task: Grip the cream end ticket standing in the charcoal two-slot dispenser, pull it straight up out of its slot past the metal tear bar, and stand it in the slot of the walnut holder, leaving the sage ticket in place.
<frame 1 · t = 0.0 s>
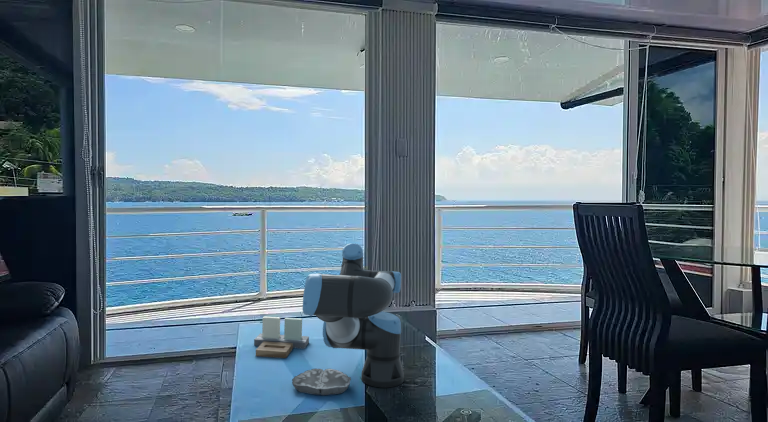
hand: (357, 312, 213), 15 cm above the table, tool tilted 35°, fingers open, 13 cm apart
brain slice: (321, 387, 177), on the table
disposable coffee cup: (344, 330, 238), on the table
holder: (274, 352, 207), on the table
dispenser: (281, 343, 217), on the table
end ticket: (270, 343, 217), resting in dispenser
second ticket: (292, 344, 217), resting in dispenser
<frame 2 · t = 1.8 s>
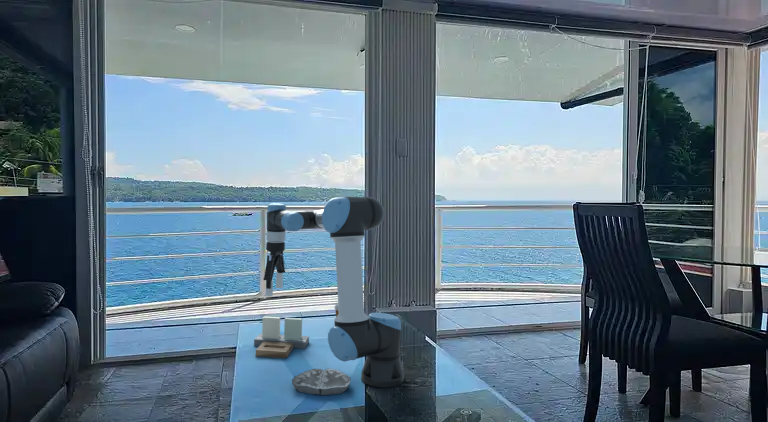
hand: (274, 292, 216), 22 cm above the table, tool pointing down, fingers open, 13 cm apart
nothing on the table moved.
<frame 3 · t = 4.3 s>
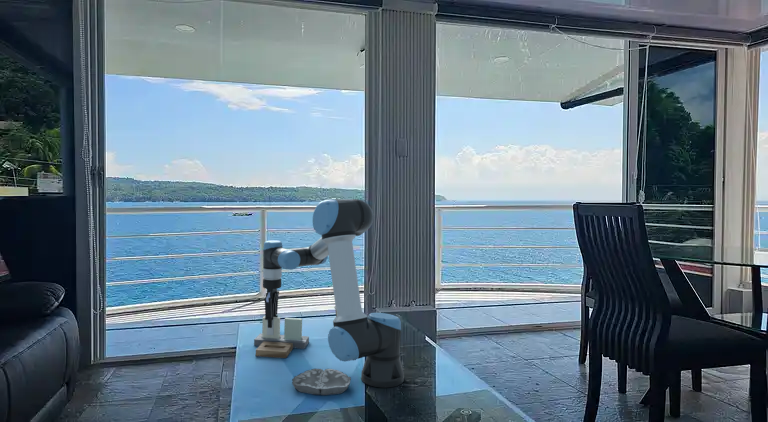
hand: (271, 333, 217), 4 cm above the table, tool pointing down, fingers closed on end ticket, 2 cm apart
end ticket: (270, 343, 217), resting in dispenser, touching gripper
everything else where it was.
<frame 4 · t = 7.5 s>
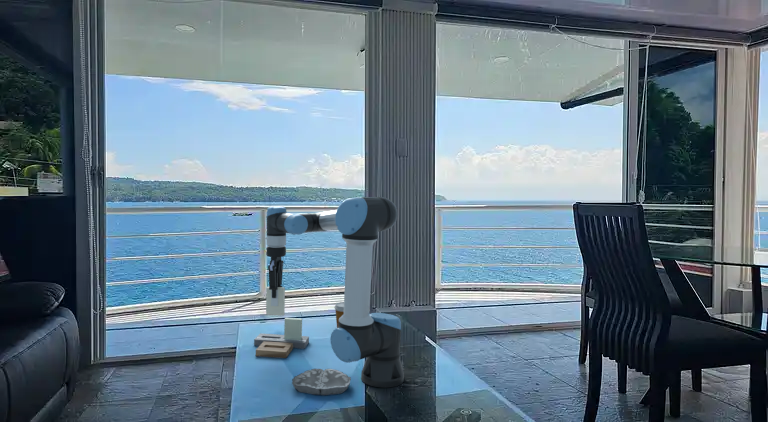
hand: (275, 304, 207), 19 cm above the table, tool pointing down, fingers closed on end ticket, 2 cm apart
end ticket: (275, 314, 207), point 15 cm above the table, touching gripper
everything else where it was.
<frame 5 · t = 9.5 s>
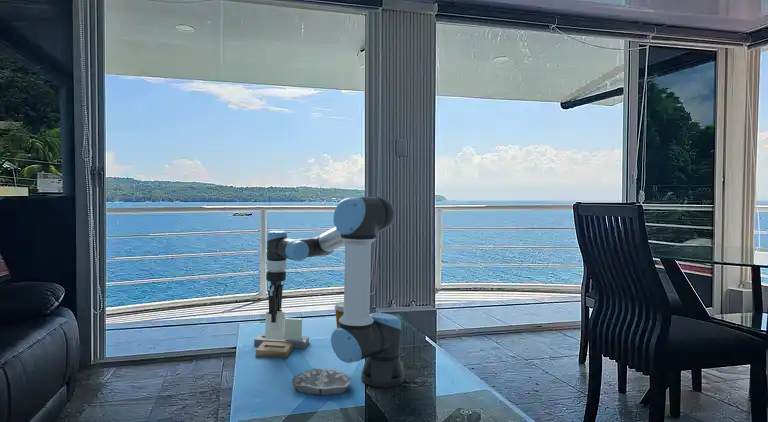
hand: (274, 329, 206), 10 cm above the table, tool pointing down, fingers closed on end ticket, 2 cm apart
end ticket: (274, 338, 206), point 6 cm above the table, touching gripper
everything else where it was.
when the fingers open (5 cm above the table, at t = 10.9 s): end ticket stays where it is, resting in holder.
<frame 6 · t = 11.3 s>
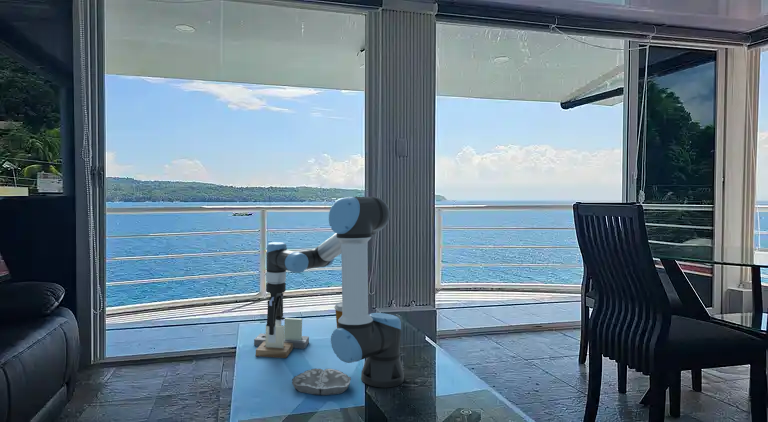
hand: (274, 339, 206), 6 cm above the table, tool pointing down, fingers open, 7 cm apart
end ticket: (274, 352, 207), resting in holder
everything else where it was.
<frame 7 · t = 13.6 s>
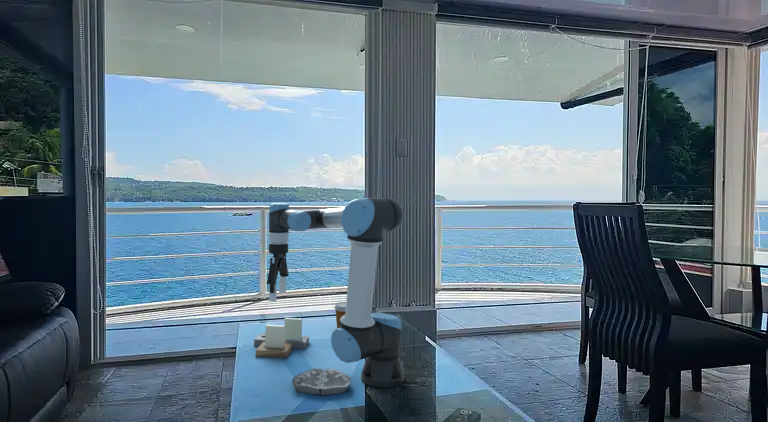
hand: (277, 296, 204), 23 cm above the table, tool pointing down, fingers open, 13 cm apart
nothing on the table moved.
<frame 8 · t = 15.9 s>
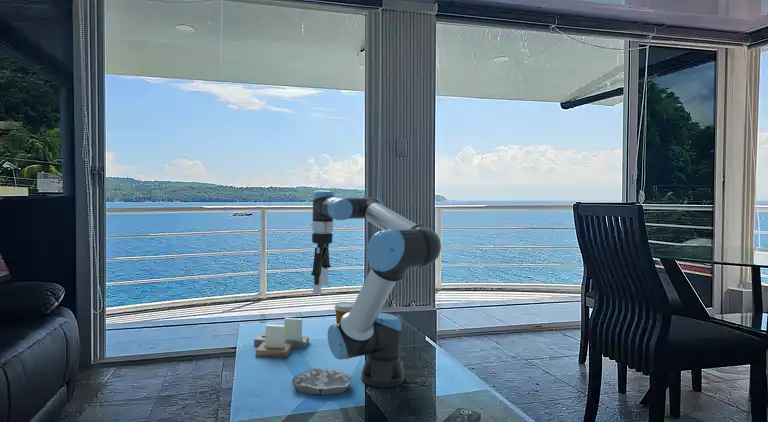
hand: (320, 289, 194), 29 cm above the table, tool pointing down, fingers open, 13 cm apart
nothing on the table moved.
at the end: end ticket 0.0 cm off-centre on the holder, point 0.0 cm above the holder's base; end ticket tilted 0°; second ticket moved 0.0 cm from its start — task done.
